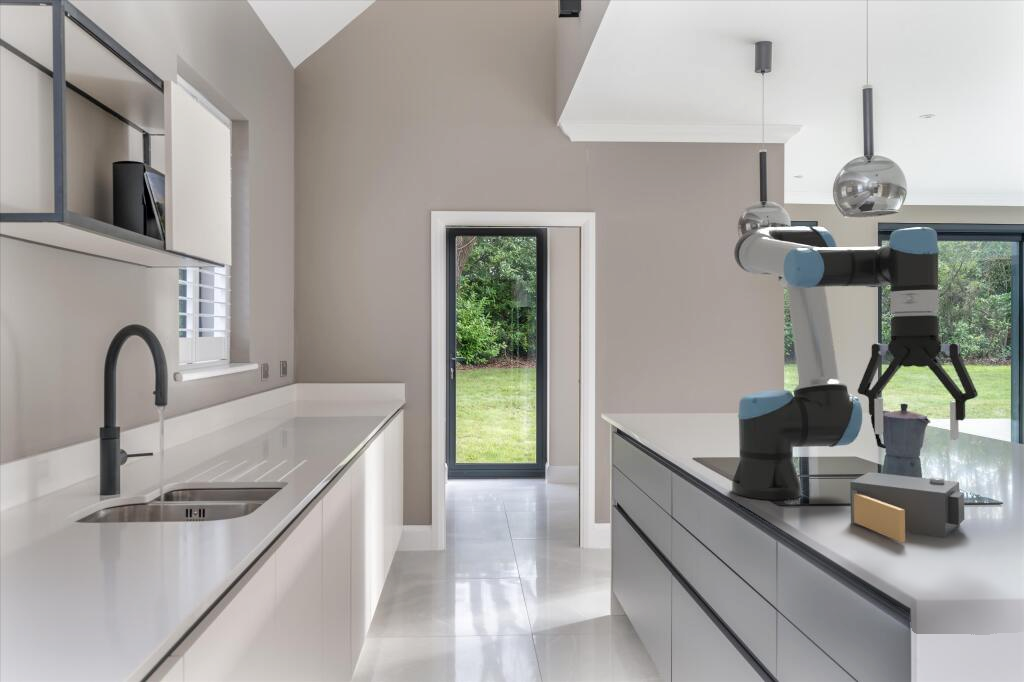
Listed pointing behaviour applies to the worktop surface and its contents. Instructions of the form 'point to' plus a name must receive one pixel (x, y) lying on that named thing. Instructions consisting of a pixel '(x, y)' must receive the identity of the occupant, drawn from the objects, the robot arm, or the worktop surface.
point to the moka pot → (902, 441)
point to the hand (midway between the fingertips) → (915, 436)
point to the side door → (878, 516)
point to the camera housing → (917, 500)
